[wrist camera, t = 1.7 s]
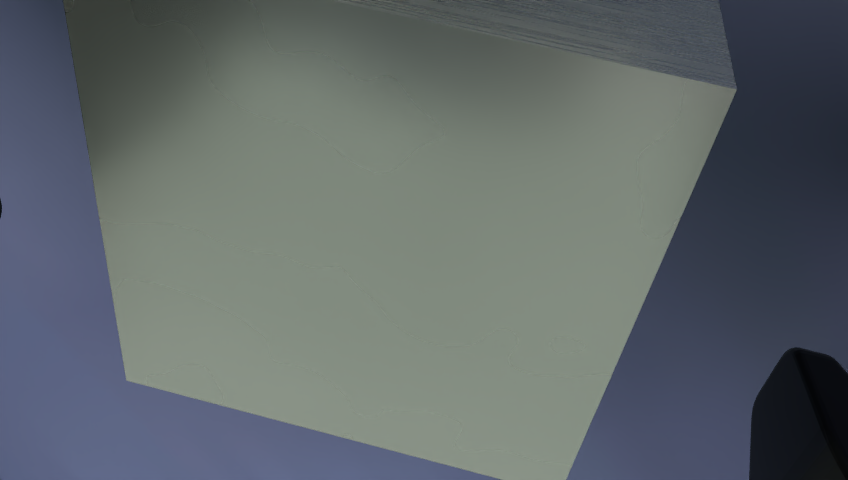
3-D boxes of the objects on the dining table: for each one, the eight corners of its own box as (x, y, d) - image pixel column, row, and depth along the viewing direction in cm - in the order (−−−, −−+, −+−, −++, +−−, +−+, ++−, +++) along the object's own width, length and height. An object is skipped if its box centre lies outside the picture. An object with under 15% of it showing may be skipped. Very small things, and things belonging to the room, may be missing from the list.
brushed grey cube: (695, -109, 11) (737, 89, 6) (583, 222, 15) (558, 494, 10) (286, -191, 12) (52, -60, 7) (279, 150, 15) (126, 380, 11)
